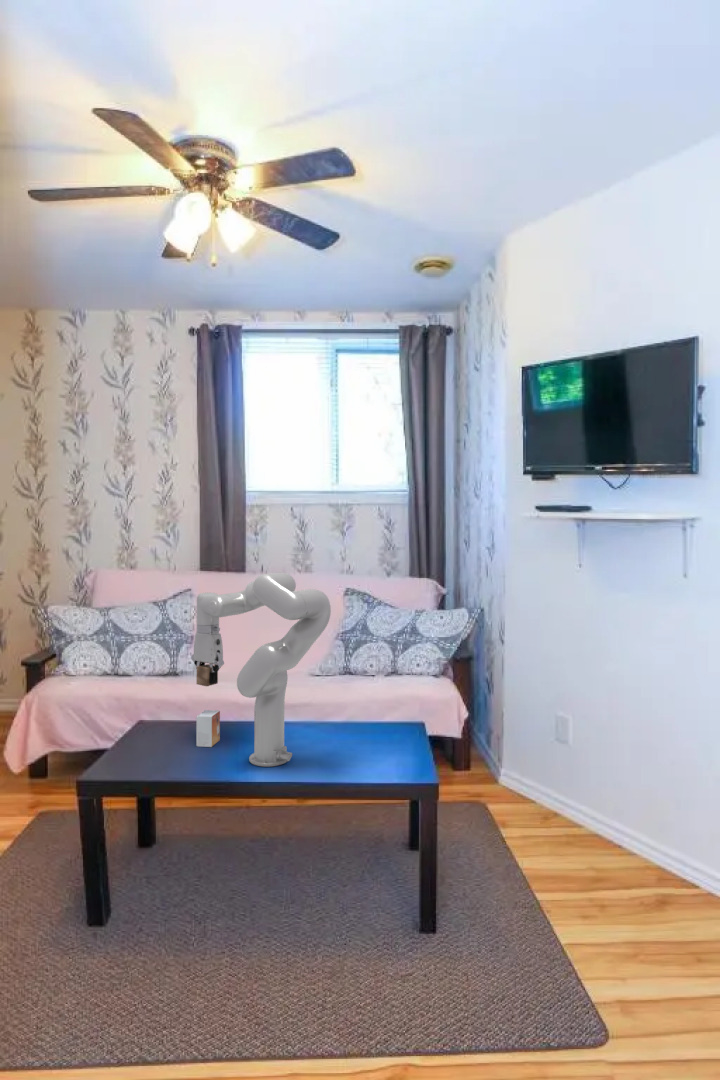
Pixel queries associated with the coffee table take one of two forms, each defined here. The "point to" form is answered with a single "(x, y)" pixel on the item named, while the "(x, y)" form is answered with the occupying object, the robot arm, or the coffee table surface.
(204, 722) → the small box
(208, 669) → the walnut block
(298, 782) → the coffee table surface
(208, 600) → the robot arm
